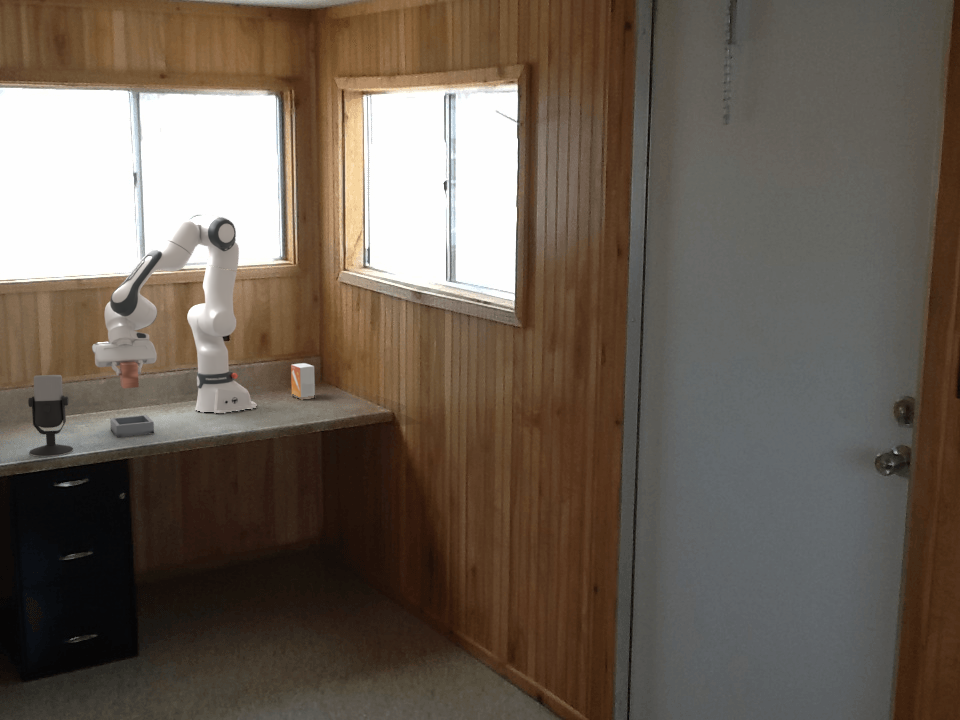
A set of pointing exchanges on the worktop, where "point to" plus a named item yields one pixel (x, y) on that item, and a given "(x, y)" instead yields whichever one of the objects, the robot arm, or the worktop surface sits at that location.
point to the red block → (129, 375)
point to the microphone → (48, 413)
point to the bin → (131, 425)
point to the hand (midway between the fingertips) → (129, 373)
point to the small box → (302, 380)
